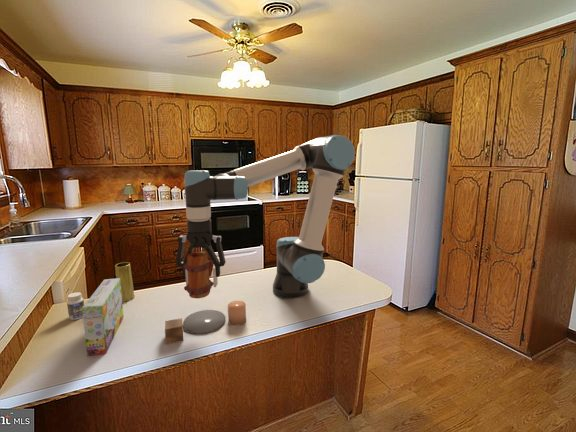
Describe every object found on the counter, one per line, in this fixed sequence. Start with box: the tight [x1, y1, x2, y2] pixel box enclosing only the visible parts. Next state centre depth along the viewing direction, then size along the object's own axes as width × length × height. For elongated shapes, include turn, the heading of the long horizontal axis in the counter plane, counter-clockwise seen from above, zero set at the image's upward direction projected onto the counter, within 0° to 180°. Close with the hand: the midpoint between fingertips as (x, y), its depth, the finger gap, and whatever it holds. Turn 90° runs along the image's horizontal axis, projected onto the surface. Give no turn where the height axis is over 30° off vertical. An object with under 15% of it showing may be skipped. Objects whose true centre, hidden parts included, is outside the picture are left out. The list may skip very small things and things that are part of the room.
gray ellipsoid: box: [182, 309, 226, 335], centre depth 103 cm, size 14×14×1 cm
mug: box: [183, 248, 214, 299], centre depth 99 cm, size 15×8×15 cm, turn 169°
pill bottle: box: [66, 291, 85, 321], centre depth 106 cm, size 5×5×8 cm
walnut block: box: [164, 317, 184, 345], centre depth 94 cm, size 5×5×5 cm
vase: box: [114, 261, 135, 303], centre depth 119 cm, size 6×6×14 cm
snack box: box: [82, 277, 125, 357], centre depth 95 cm, size 21×6×15 cm, turn 17°
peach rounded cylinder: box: [227, 300, 247, 326], centre depth 104 cm, size 6×6×6 cm
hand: (202, 285), depth 101 cm, fingers closed on mug, 8 cm apart
